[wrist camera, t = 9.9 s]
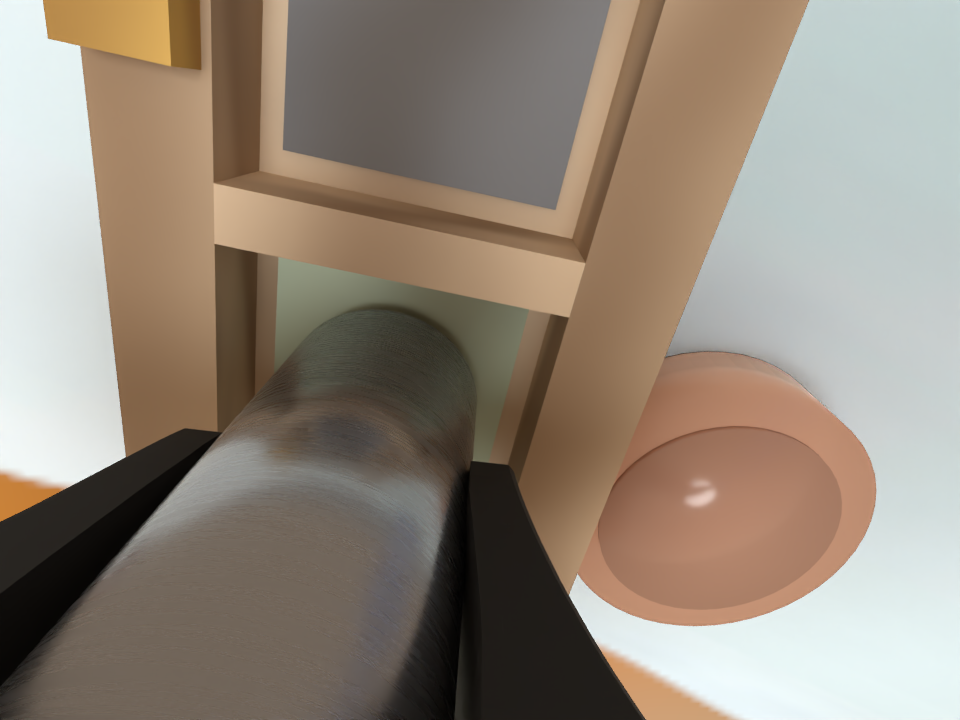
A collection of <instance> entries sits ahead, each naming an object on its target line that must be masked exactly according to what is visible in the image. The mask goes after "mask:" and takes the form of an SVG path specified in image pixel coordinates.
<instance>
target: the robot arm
mask: <svg viewBox="0 0 960 720" xmlns="http://www.w3.org/2000/svg"><path fill="white" fill-rule="evenodd" d="M222 433H223V432H214V431H206V430H197V429H188V428H184V429H182V430H180V431H177V432H175V433H173V434H171V435H169V436H167V437H164V438H162V439H160V440H158V441H156V442H154V443H152V444H151V445H149V446H147V447H145V448H143V449H141V450H139V451H137V452H135V453H133V454H131V455H129V456H127V457H126V458H124V459H122V460H120V461H118V462H116V463H114V464H112V465H110V466H109V467H107V468H105V469H103V470H101V471H99V472H97V473H95V474H93V475H91V476H90V477H88V478H86V479H84V480H82V481H80V482H78V483H76V484H74V485H72V486H70V487H68V488H67V489H65V490H63V491H61V492H59V493H57V494H55V495H53V496H51V497H49V498H47V499H45V500H43V501H42V502H40V503H38V504H36V505H34V506H32V507H30V508H28V509H26V510H24V511H22V512H20V513H18V514H15V515H14V516H12V517H9V518H7V519H5V520H3V521H1V522H0V687H1V686H2V684H3V683H4V682H5V681H6V680H7V679H8V678H9V676H10V675H11V674H12V673H13V672H14V671H15V670H16V668H17V667H18V666H19V665H20V664H21V663H22V662H23V660H24V659H25V658H26V657H27V656H28V655H29V654H30V652H31V651H32V650H33V649H34V648H35V647H36V646H37V644H38V643H39V642H40V641H41V640H42V639H43V638H44V636H45V635H46V634H47V633H48V632H49V631H50V629H51V628H52V627H53V626H54V625H55V624H56V623H57V621H58V620H59V619H60V618H61V617H62V616H63V615H64V613H65V612H66V611H67V610H68V609H69V608H70V607H71V605H72V604H73V603H74V602H75V601H76V600H77V599H78V597H79V596H80V595H81V594H82V593H83V592H84V591H85V589H86V588H87V587H88V586H89V585H90V584H91V583H92V581H93V580H94V579H95V578H96V577H97V576H98V575H99V573H100V572H101V571H102V570H103V569H104V568H105V567H106V565H107V564H108V563H109V562H110V561H111V560H112V559H113V557H114V556H115V555H116V554H117V553H118V552H119V551H120V549H121V548H122V547H123V546H124V545H125V544H126V543H127V541H128V540H129V539H130V538H131V537H132V536H133V535H134V533H135V532H136V531H137V530H138V529H139V528H140V526H141V525H142V524H143V523H144V522H145V521H146V520H147V518H148V517H149V516H150V515H151V514H152V513H153V512H154V510H155V509H156V508H157V507H158V506H159V505H160V504H161V502H162V501H163V500H164V499H165V498H166V497H167V496H168V494H169V493H170V492H171V491H172V490H173V489H174V488H175V486H176V485H177V484H178V483H179V482H180V481H181V480H182V478H183V477H184V476H185V475H186V474H187V473H188V472H189V470H190V469H191V468H192V467H193V466H194V465H195V464H196V462H197V461H198V460H199V459H200V458H201V457H202V456H203V454H204V453H205V452H206V451H207V450H208V449H209V448H210V446H211V445H212V444H213V443H214V442H215V441H216V440H217V438H218V437H219V436H220V435H221V434H222ZM454 720H646V719H645V718H644V717H643V715H642V714H641V712H640V711H639V709H638V708H637V706H636V705H635V703H634V702H633V700H632V699H631V697H630V696H629V694H628V693H627V691H626V690H625V688H624V686H623V685H622V683H621V682H620V680H619V679H618V677H617V676H616V675H615V673H614V671H613V670H612V668H611V667H610V665H609V663H608V662H607V660H606V659H605V657H604V655H603V654H602V652H601V650H600V649H599V647H598V646H597V644H596V642H595V641H594V639H593V637H592V636H591V634H590V632H589V630H588V629H587V627H586V625H585V623H584V622H583V620H582V618H581V616H580V615H579V613H578V611H577V609H576V608H575V606H574V604H573V602H572V601H571V599H570V597H569V595H568V593H567V591H566V590H565V588H564V586H563V584H562V582H561V580H560V578H559V576H558V574H557V572H556V570H555V568H554V566H553V564H552V562H551V560H550V558H549V556H548V554H547V552H546V550H545V548H544V546H543V544H542V542H541V540H540V537H539V535H538V533H537V531H536V529H535V526H534V524H533V522H532V519H531V517H530V515H529V512H528V510H527V508H526V505H525V502H524V500H523V497H522V495H521V492H520V489H519V486H518V483H517V480H516V477H515V473H514V471H513V470H512V469H511V467H510V466H509V465H505V464H496V463H487V462H478V461H471V463H470V470H469V481H468V494H467V506H466V539H465V575H464V592H463V606H462V620H461V634H460V648H459V662H458V676H457V690H456V704H455V718H454Z"/></svg>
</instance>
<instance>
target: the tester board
mask: <svg viewBox="0 0 960 720" xmlns="http://www.w3.org/2000/svg"><path fill="white" fill-rule="evenodd" d="M808 2H809V0H43V4H44V11H45V19H46V26H47V34H48V39H53V40H57V41H62V42H66V43H70V44H75V45H79V46H80V47H81V56H82V65H83V74H84V83H85V92H86V101H87V110H88V119H89V128H90V137H91V146H92V155H93V164H94V173H95V182H96V191H97V200H98V209H99V218H100V227H101V236H102V245H103V254H104V263H105V272H106V281H107V290H108V299H109V308H110V317H111V326H112V335H113V344H114V353H115V362H116V371H117V380H118V389H119V398H120V407H121V416H122V425H123V434H124V443H125V452H126V457H127V456H129V455H131V454H133V453H135V452H137V451H139V450H141V449H143V448H145V447H147V446H149V445H151V444H152V443H154V442H156V441H158V440H160V439H162V438H164V437H167V436H169V435H171V434H173V433H175V432H177V431H180V430H182V429H184V428H188V429H197V430H206V431H214V432H224V430H225V429H226V428H227V427H228V426H229V425H230V423H231V422H232V421H233V420H234V419H235V418H236V417H237V415H238V414H239V413H240V412H241V411H242V410H243V409H244V407H245V406H246V405H247V404H248V403H249V402H250V401H251V399H252V398H253V397H254V396H255V395H256V394H257V393H258V391H259V390H260V389H261V388H262V387H263V386H264V385H265V383H266V382H267V381H268V380H269V379H270V378H271V377H272V375H273V374H274V373H275V372H276V371H277V370H278V369H279V367H280V366H281V365H282V364H283V363H284V362H285V361H286V359H287V358H288V357H289V356H290V355H291V354H292V353H293V351H294V350H295V349H296V348H297V347H298V346H299V345H300V343H301V342H302V341H303V340H304V339H305V338H306V337H307V336H308V335H309V334H310V333H311V332H312V331H313V330H314V329H315V328H317V327H318V326H320V325H321V324H322V323H324V322H326V321H328V320H330V319H332V318H334V317H336V316H339V315H342V314H345V313H348V312H353V311H358V310H370V309H376V310H388V311H394V312H399V313H403V314H406V315H409V316H412V317H415V318H417V319H419V320H421V321H424V322H425V323H427V324H429V325H430V326H432V327H434V328H436V329H437V330H438V331H439V332H441V333H442V334H443V335H445V336H446V337H447V338H448V339H449V340H450V341H451V342H452V343H453V344H454V345H455V346H456V348H457V349H458V350H459V351H460V353H461V354H462V355H463V357H464V359H465V360H466V362H467V364H468V366H469V368H470V370H471V373H472V375H473V378H474V382H475V386H476V394H477V409H476V423H475V437H474V451H473V461H478V462H487V463H496V464H505V465H509V466H510V467H511V469H512V470H513V471H514V473H515V477H516V480H517V483H518V486H519V489H520V492H521V495H522V497H523V500H524V502H525V505H526V508H527V510H528V512H529V515H530V517H531V519H532V522H533V524H534V526H535V529H536V531H537V533H538V535H539V537H540V540H541V542H542V544H543V546H544V548H545V550H546V552H547V554H548V556H549V558H550V560H551V562H552V564H553V566H554V568H555V570H556V572H557V574H558V576H559V578H560V580H561V582H562V584H563V586H564V588H565V590H566V591H567V593H568V595H569V593H570V590H571V588H572V585H573V583H574V581H575V578H576V576H577V573H578V571H579V568H580V566H581V563H582V561H583V558H584V556H585V553H586V551H587V548H588V546H589V543H590V541H591V538H592V536H593V534H594V531H595V529H596V526H597V524H598V521H599V519H600V516H601V514H602V511H603V509H604V506H605V504H606V501H607V499H608V496H609V494H610V491H611V489H612V487H613V484H614V482H615V479H616V477H617V474H618V472H619V469H620V467H621V464H622V462H623V459H624V457H625V454H626V452H627V449H628V447H629V445H630V442H631V440H632V437H633V435H634V432H635V430H636V427H637V425H638V422H639V420H640V417H641V415H642V412H643V410H644V407H645V405H646V402H647V400H648V398H649V395H650V393H651V390H652V388H653V385H654V383H655V380H656V378H657V375H658V373H659V370H660V368H661V365H662V363H663V360H664V358H665V356H666V353H667V351H668V348H669V346H670V343H671V341H672V338H673V336H674V333H675V331H676V328H677V326H678V323H679V321H680V318H681V316H682V313H683V311H684V309H685V306H686V304H687V301H688V299H689V296H690V294H691V291H692V289H693V286H694V284H695V281H696V279H697V276H698V274H699V271H700V269H701V267H702V264H703V262H704V259H705V257H706V254H707V252H708V249H709V247H710V244H711V242H712V239H713V237H714V234H715V232H716V229H717V227H718V224H719V222H720V220H721V217H722V215H723V212H724V210H725V207H726V205H727V202H728V200H729V197H730V195H731V192H732V190H733V187H734V185H735V182H736V180H737V177H738V175H739V173H740V170H741V168H742V165H743V163H744V160H745V158H746V155H747V153H748V150H749V148H750V145H751V143H752V140H753V138H754V135H755V133H756V131H757V128H758V126H759V123H760V121H761V118H762V116H763V113H764V111H765V108H766V106H767V103H768V101H769V98H770V96H771V93H772V91H773V88H774V86H775V84H776V81H777V79H778V76H779V74H780V71H781V69H782V66H783V64H784V61H785V59H786V56H787V54H788V51H789V49H790V46H791V44H792V42H793V39H794V37H795V34H796V32H797V29H798V27H799V24H800V22H801V19H802V17H803V14H804V12H805V9H806V7H807V4H808Z"/></svg>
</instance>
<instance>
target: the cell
mask: <svg viewBox="0 0 960 720" xmlns="http://www.w3.org/2000/svg"><path fill="white" fill-rule="evenodd" d="M476 409H477V394H476V386H475V382H474V378H473V375H472V373H471V370H470V368H469V366H468V364H467V362H466V360H465V359H464V357H463V355H462V354H461V353H460V351H459V350H458V349H457V348H456V346H455V345H454V344H453V343H452V342H451V341H450V340H449V339H448V338H447V337H446V336H445V335H443V334H442V333H441V332H439V331H438V330H437V329H436V328H434V327H432V326H430V325H429V324H427V323H425V322H424V321H421V320H419V319H417V318H415V317H412V316H409V315H406V314H403V313H399V312H394V311H388V310H376V309H370V310H358V311H353V312H348V313H345V314H342V315H339V316H336V317H334V318H332V319H330V320H328V321H326V322H324V323H322V324H321V325H320V326H318V327H317V328H315V329H314V330H313V331H312V332H311V333H310V334H309V335H308V336H307V337H306V338H305V339H304V340H303V341H302V342H301V343H300V345H299V346H298V347H297V348H296V349H295V350H294V351H293V353H292V354H291V355H290V356H289V357H288V358H287V359H286V361H285V362H284V363H283V364H282V365H281V366H280V367H279V369H278V370H277V371H276V372H275V373H274V374H273V375H272V377H271V378H270V379H269V380H268V381H267V382H266V383H265V385H264V386H263V387H262V388H261V389H260V390H259V391H258V393H257V394H256V395H255V396H254V397H253V398H252V399H251V401H250V402H249V403H248V404H247V405H246V406H245V407H244V409H243V410H242V411H241V412H240V413H239V414H238V415H237V417H236V418H235V419H234V420H233V421H232V422H231V423H230V425H229V426H228V427H227V428H226V429H225V430H224V432H223V433H222V434H221V435H220V436H219V437H218V438H217V440H216V441H215V442H214V443H213V444H212V445H211V446H210V448H209V449H208V450H207V451H206V452H205V453H204V454H203V456H202V457H201V458H200V459H199V460H198V461H197V462H196V464H195V465H194V466H193V467H192V468H191V469H190V470H189V472H188V473H187V474H186V475H185V476H184V477H183V478H182V480H181V481H180V482H179V483H178V484H177V485H176V486H175V488H174V489H173V490H172V491H171V492H170V493H169V494H168V496H167V497H166V498H165V499H164V500H163V501H162V502H161V504H160V505H159V506H158V507H157V508H156V509H155V510H154V512H153V513H152V514H151V515H150V516H149V517H148V518H147V520H146V521H145V522H144V523H143V524H142V525H141V526H140V528H139V529H138V530H137V531H136V532H135V533H134V535H133V536H132V537H131V538H130V539H129V540H128V541H127V543H126V544H125V545H124V546H123V547H122V548H121V549H120V551H119V552H118V553H117V554H116V555H115V556H114V557H113V559H112V560H111V561H110V562H109V563H108V564H107V565H106V567H105V568H104V569H103V570H102V571H101V572H100V573H99V575H98V576H97V577H96V578H95V579H94V580H93V581H92V583H91V584H90V585H89V586H88V587H87V588H86V589H85V591H84V592H83V593H82V594H81V595H80V596H79V597H78V599H77V600H76V601H75V602H74V603H73V604H72V605H71V607H70V608H69V609H68V610H67V611H66V612H65V613H64V615H63V616H62V617H61V618H60V619H59V620H58V621H57V623H56V624H55V625H54V626H53V627H52V628H51V629H50V631H49V632H48V633H47V634H46V635H45V636H44V638H43V639H42V640H41V641H40V642H39V643H38V644H37V646H36V647H35V648H34V649H33V650H32V651H31V652H30V654H29V655H28V656H27V657H26V658H25V659H24V660H23V662H22V663H21V664H20V665H19V666H18V667H17V668H16V670H15V671H14V672H13V673H12V674H11V675H10V676H9V678H8V679H7V680H6V681H5V682H4V683H3V684H2V686H1V687H0V720H454V718H455V704H456V690H457V676H458V662H459V648H460V634H461V620H462V606H463V592H464V575H465V539H466V506H467V494H468V481H469V470H470V463H471V461H473V451H474V437H475V423H476Z"/></svg>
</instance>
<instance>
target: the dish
mask: <svg viewBox="0 0 960 720" xmlns="http://www.w3.org/2000/svg"><path fill="white" fill-rule="evenodd" d="M875 500H876V482H875V473H874V470H873V467H872V464H871V460H870V458H869V456H868V454H867V452H866V450H865V449H864V447H863V445H862V444H861V442H860V441H859V440H858V439H857V437H856V436H855V435H854V434H853V432H852V431H851V430H850V429H848V428H847V427H846V426H845V425H844V424H843V423H842V422H841V421H840V420H839V419H838V418H837V417H835V416H834V415H833V414H832V413H831V412H830V411H829V410H828V409H827V408H826V407H825V406H824V405H822V404H821V403H820V402H819V401H818V400H817V399H816V398H815V397H814V396H813V395H812V394H811V393H809V392H808V391H807V390H806V389H805V388H804V387H803V386H802V385H801V384H800V383H798V382H797V381H796V380H795V379H794V378H793V377H791V376H790V375H789V374H787V373H786V372H784V371H782V370H781V369H779V368H778V367H776V366H774V365H771V364H769V363H767V362H764V361H762V360H760V359H756V358H752V357H749V356H745V355H741V354H734V353H727V352H695V353H685V354H680V355H675V356H670V357H665V358H664V360H663V363H662V365H661V368H660V370H659V373H658V375H657V378H656V380H655V383H654V385H653V388H652V390H651V393H650V395H649V398H648V400H647V402H646V405H645V407H644V410H643V412H642V415H641V417H640V420H639V422H638V425H637V427H636V430H635V432H634V435H633V437H632V440H631V442H630V445H629V447H628V449H627V452H626V454H625V457H624V459H623V462H622V464H621V467H620V469H619V472H618V474H617V477H616V479H615V482H614V484H613V487H612V489H611V491H610V494H609V496H608V499H607V501H606V504H605V506H604V509H603V511H602V514H601V516H600V519H599V521H598V524H597V526H596V529H595V531H594V534H593V536H592V538H591V541H590V543H589V546H588V548H587V551H586V553H585V556H584V558H583V561H582V563H581V566H580V568H579V571H578V575H579V576H580V578H581V579H582V580H583V582H584V583H585V584H586V585H587V586H588V587H589V588H590V589H591V590H592V591H593V592H594V593H595V594H597V595H598V596H599V597H600V598H601V599H603V600H604V601H606V602H607V603H609V604H611V605H612V606H614V607H615V608H617V609H620V610H622V611H624V612H626V613H628V614H630V615H633V616H636V617H639V618H642V619H645V620H650V621H654V622H659V623H664V624H672V625H683V626H706V625H718V624H726V623H733V622H737V621H742V620H746V619H751V618H754V617H757V616H760V615H763V614H767V613H769V612H772V611H774V610H777V609H779V608H782V607H784V606H786V605H788V604H790V603H792V602H794V601H796V600H798V599H800V598H802V597H803V596H805V595H807V594H808V593H810V592H811V591H813V590H814V589H816V588H817V587H819V586H820V585H821V584H823V583H824V582H825V581H826V580H828V579H829V578H830V577H831V576H833V575H834V574H835V573H836V572H837V571H838V570H839V569H840V568H841V567H842V566H843V565H844V564H845V563H846V561H847V560H848V559H849V558H850V556H851V555H852V554H853V553H854V552H855V550H856V549H857V547H858V546H859V544H860V542H861V541H862V539H863V537H864V536H865V533H866V531H867V529H868V527H869V524H870V522H871V519H872V515H873V511H874V507H875Z"/></svg>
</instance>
